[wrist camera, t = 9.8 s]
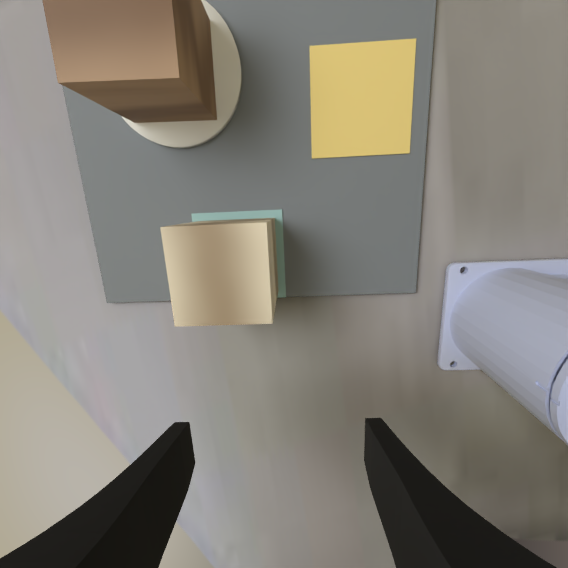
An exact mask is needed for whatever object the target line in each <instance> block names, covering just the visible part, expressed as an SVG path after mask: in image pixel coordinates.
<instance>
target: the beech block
mask: <svg viewBox="0 0 568 568" xmlns="http://www.w3.org/2000/svg"><path fill="white" fill-rule="evenodd" d="M160 229H161V236H162V243H163V249H164V256H165V263H166V270H167V276H168V283H169V290H170V297H171V304H172V310H173V317H174V324H175V326H208V325H242V324H272V323H273V318H274V313H275V307H276V302H277V296H278V291H279V290H278V271H277V251H276V232H275V218H255V219H233V220H210V221H196V222H190V223H183V224H177V225H171V226H164V227H160Z"/></svg>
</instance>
